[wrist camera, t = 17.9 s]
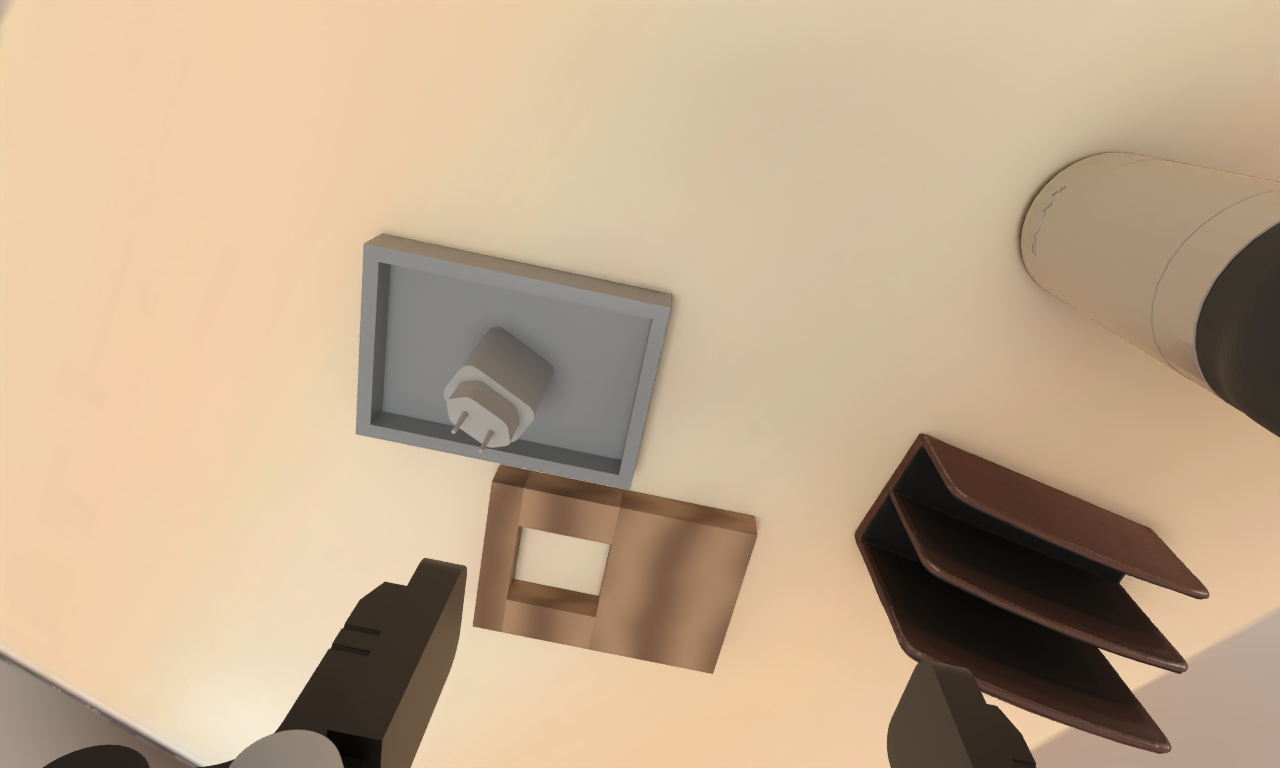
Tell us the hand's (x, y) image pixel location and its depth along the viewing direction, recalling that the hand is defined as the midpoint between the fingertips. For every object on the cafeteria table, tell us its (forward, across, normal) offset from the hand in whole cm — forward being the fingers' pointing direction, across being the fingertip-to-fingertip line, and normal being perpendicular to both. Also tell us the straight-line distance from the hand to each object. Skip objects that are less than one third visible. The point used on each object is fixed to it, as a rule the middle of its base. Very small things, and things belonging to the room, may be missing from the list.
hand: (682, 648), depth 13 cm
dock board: (+38, 0, +28) cm, 47 cm away
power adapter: (+37, +10, +12) cm, 40 cm away
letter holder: (+39, -28, +18) cm, 51 cm away
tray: (+38, +10, +12) cm, 41 cm away
